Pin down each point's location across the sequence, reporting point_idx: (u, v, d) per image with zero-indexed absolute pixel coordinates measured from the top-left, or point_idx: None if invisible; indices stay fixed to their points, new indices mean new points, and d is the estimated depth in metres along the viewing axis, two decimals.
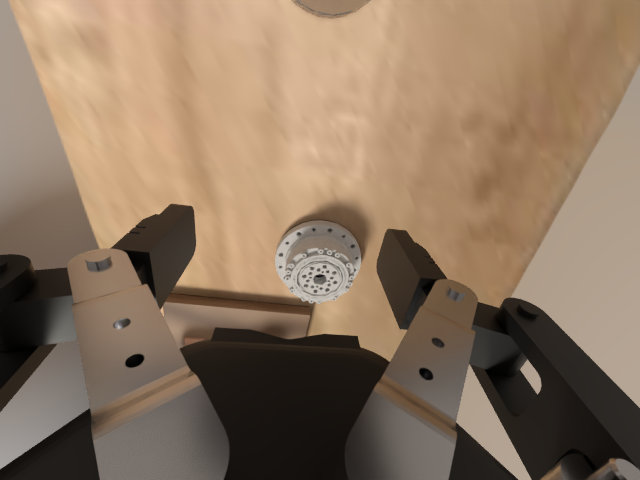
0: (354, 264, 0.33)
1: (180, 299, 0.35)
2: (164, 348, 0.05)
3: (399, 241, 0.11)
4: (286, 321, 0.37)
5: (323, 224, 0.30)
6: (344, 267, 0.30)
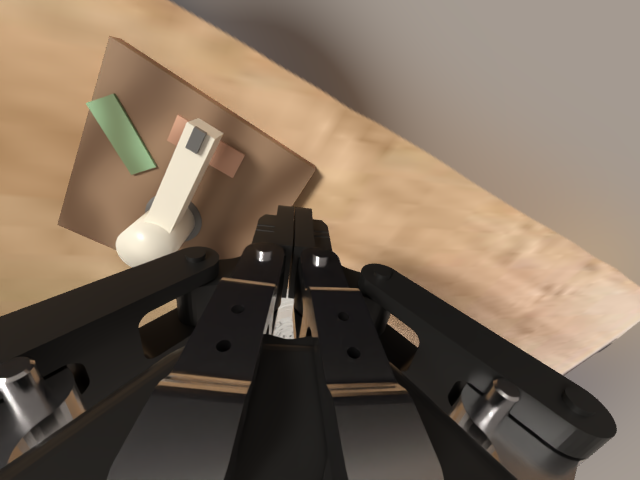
0: None
1: None
2: (247, 349, 0.05)
3: (297, 217, 0.11)
4: None
5: None
6: None
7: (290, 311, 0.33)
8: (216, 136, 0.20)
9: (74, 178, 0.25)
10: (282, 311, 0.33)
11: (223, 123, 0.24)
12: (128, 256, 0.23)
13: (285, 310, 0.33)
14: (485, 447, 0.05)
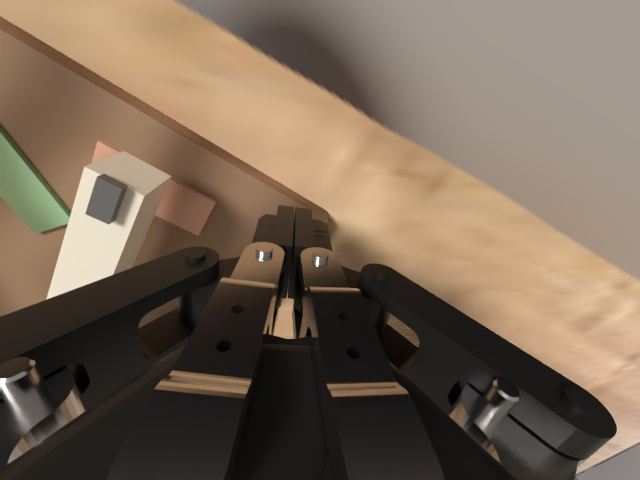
0: None
1: None
2: (247, 349, 0.05)
3: (296, 217, 0.11)
4: None
5: None
6: None
7: None
8: (151, 187, 0.11)
9: None
10: None
11: (178, 153, 0.15)
12: None
13: None
14: (484, 448, 0.05)
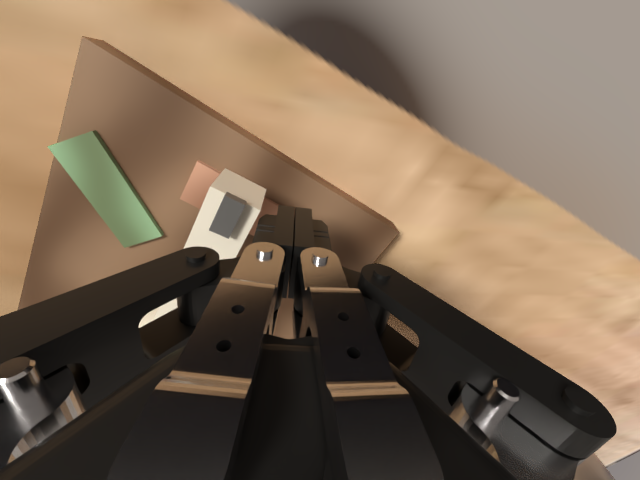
0: None
1: None
2: (247, 349, 0.05)
3: (296, 217, 0.11)
4: None
5: None
6: None
7: None
8: (260, 202, 0.12)
9: (37, 253, 0.17)
10: None
11: (268, 171, 0.15)
12: None
13: None
14: (484, 447, 0.05)
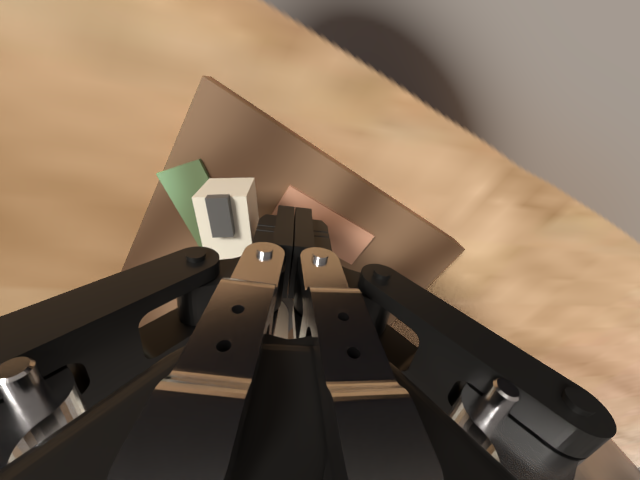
0: None
1: None
2: (247, 349, 0.05)
3: (296, 217, 0.11)
4: None
5: None
6: None
7: None
8: (246, 190, 0.11)
9: None
10: None
11: (351, 194, 0.16)
12: None
13: None
14: (484, 448, 0.05)
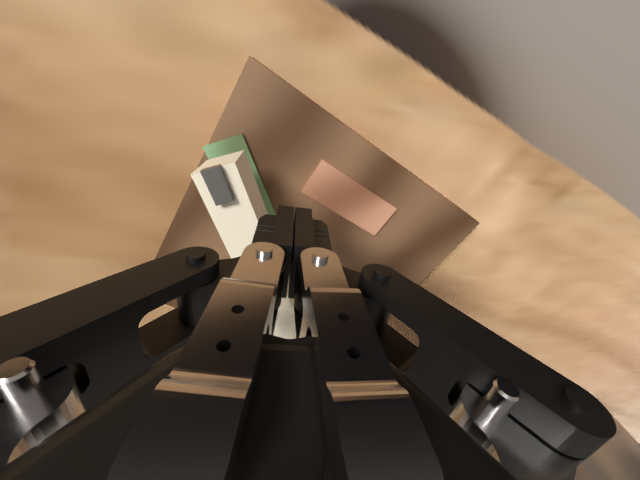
0: None
1: None
2: (247, 349, 0.05)
3: (297, 217, 0.11)
4: None
5: None
6: None
7: None
8: (235, 158, 0.13)
9: (169, 239, 0.19)
10: None
11: (377, 169, 0.18)
12: None
13: None
14: (485, 447, 0.05)
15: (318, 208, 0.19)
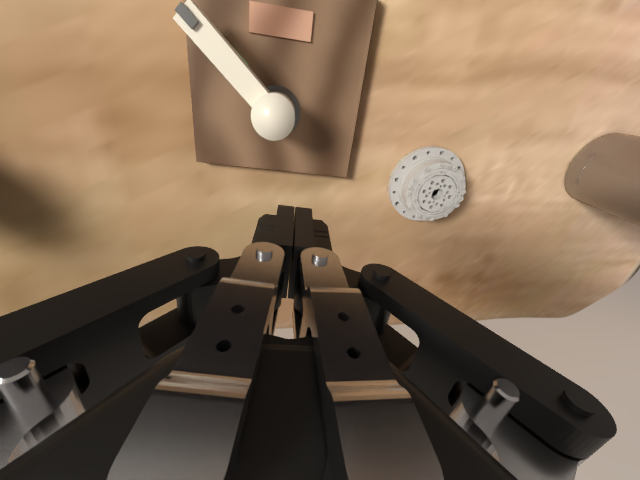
0: None
1: None
2: (248, 348, 0.05)
3: (297, 217, 0.11)
4: (338, 152, 0.34)
5: None
6: (445, 212, 0.36)
7: (420, 167, 0.34)
8: None
9: (195, 110, 0.31)
10: (412, 172, 0.35)
11: None
12: (275, 133, 0.27)
13: (415, 169, 0.35)
14: (485, 448, 0.05)
15: (266, 40, 0.28)
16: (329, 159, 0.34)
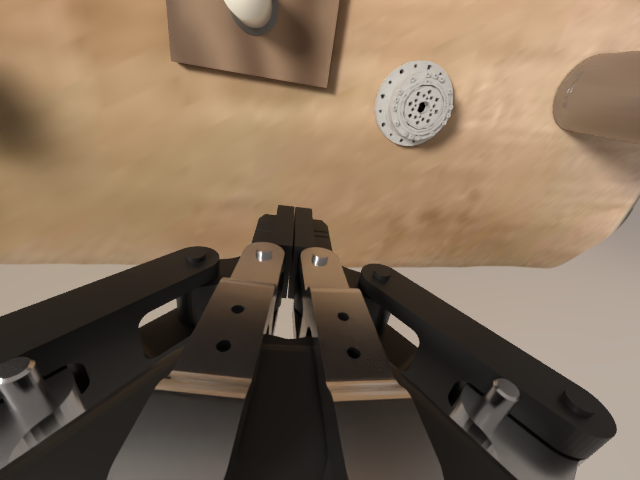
0: (407, 140, 0.39)
1: None
2: (247, 349, 0.05)
3: (296, 217, 0.11)
4: (317, 58, 0.33)
5: None
6: (431, 130, 0.35)
7: (406, 78, 0.34)
8: None
9: None
10: (398, 84, 0.34)
11: None
12: (246, 9, 0.26)
13: (401, 81, 0.34)
14: (484, 448, 0.05)
15: None
16: (309, 65, 0.33)
